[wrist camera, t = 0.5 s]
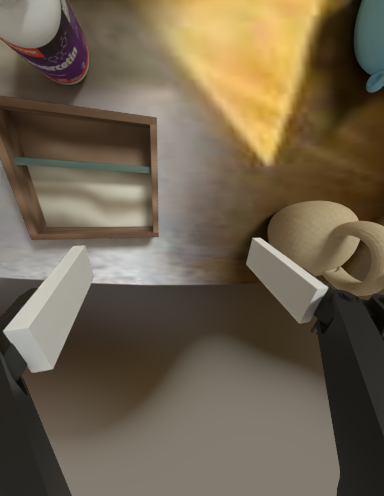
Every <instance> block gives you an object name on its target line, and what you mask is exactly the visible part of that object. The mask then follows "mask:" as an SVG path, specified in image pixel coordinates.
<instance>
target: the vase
mask: <svg viewBox="0 0 384 496" xmlns="http://www.w3.org/2000/svg"><path fill="white" fill-rule="evenodd" d="M360 239H361V240H362V241H363V242H365V243H366V245H367V246H368V248H369V249H370V252H371V256H372V265H371V268H370V271H369V273H368V275H367V277H366V278H365V280H364V281H363V282H361V281H358V280H356V279H354V278H353V277H351V276H350V275H349V274H348V273H346V272H345V271H344V270H343V269H342V268H341V267H340V266H341V265H342V264H343V263H345V262H346V261H347V260H348V259H349V258H350V257H351V255H352V254H353V253H354V251H355V250H356V248H357V246H358V243H359V241H360ZM268 240H269V244H270V245H271V246H272V247H274V248H275V249H276V250H278V251H279V252H281V253H282V254H283V255H285V256H286V257H287V258H289V259H290V260H291V261H293V262H294V263H296V264H297V265H299V266H301V267H303V268H304V269H306V270H307V271H309V272H310V273H311V274H313V275H314V276H318V275H323V276H324V277H325V278H326V279H327V280H328V281H329V282H330V283H331V284H332V285H333V286H334V287H336V288H337V289H338V290H344V291H347V292H350V293H352V294H354V295H356V296H366V295H371V294H374V293H377V292H378V291H380V290H382V289H383V288H384V226H381V225H379V224H376V223H372V222H366V221H359V220H358V218H357V217H356V215H355V214H354V213H353V212H352V211H351V210H350V209H348V208H347V207H345V206H343V205H341V204H338V203H334V202H329V201H308V202H302V203H297V204H293V205H290V206H287V207H285V208H283V209H281V210H280V211H278V212H277V213H276V214H275V215H274V216H273V217H272V219H271V220H270V223H269V225H268Z"/></svg>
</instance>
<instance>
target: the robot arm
mask: <svg viewBox="0 0 384 496" xmlns="http://www.w3.org/2000/svg"><path fill="white" fill-rule="evenodd" d="M246 265H247V266H248V267H249V268H250V269H251V271H252V272H253V273H254V274H255V275H256V276H257V277H258V278H259V279H260V281H261V282H262V283H263V284H264V285H265V286H266V287H267V288H268V289H269V290H270V292H271V293H272V294H273V295H274V296H275V297H276V298H277V299H278V300H279V302H280V303H281V304H282V305H283V306H284V307H285V308H286V309H287V310H288V312H289V313H290V314H291V315H292V316H293V317H294V318H295V319H296V320H297V322H298V323H299V324H300V323H305V322H310V320H311V318H312V316H313V315H315V316H316V317H317V318H318V319H317V321H316V322H315V324H314V326H313V328H312V329H311V332H312V333H313V332H314V330H315V329H317V333H316V334H317V335H318V340H319V346H320V352H321V358H322V364H323V369H324V376H325V382H326V388H327V394H328V400H329V406H330V412H331V418H332V424H333V429H334V436H335V442H336V448H337V454H338V460H339V466H340V479H339V483H338V487H337V496H384V295H381V294H374V295H372V296H371V298H370V299H369V300H362V299H360V298H359V297H357V296H356V295H354V294H352V293H350V292H347V291H344V290H333V289H332V288H331V287H329V286H328V285H327V284H325V283H324V282H322V281H321V280H320V279H318V278H317V277H315V276H314V275H313V274H311V273H310V272H309V271H307V270H306V269H304V268H303V267H301V266H299V265H297V264H296V263H294V262H293V261H291V260H290V259H289V258H287V257H286V256H285V255H283V254H282V253H281V252H279V251H278V250H276V249H275V248H274V247H272V246H271V245H270V244H268V243H267V242H265V241H264V240H263V239H261V238H252V242H251V246H250V250H249V254H248V258H247V262H246ZM93 278H94V276H93V272H92V268H91V265H90V261H89V257H88V253H87V249H86V246H73V247H72V248H71V249H70V250H69V252H68V253H67V254H66V255H65V257H64V258H63V259H62V260H61V261H60V263H59V264H58V265H57V266H56V267H55V269H54V270H53V271H52V272H51V274H50V275H49V276H48V277H47V278H46V280H45V281H44V282H43V283H42V284H41V286H40V287H39V288H33V289H30V290H28V291H27V292H25V293H24V294H22V295H21V296H19V298H18V299H17V300H16V301H15V302H14V303H13V304H12V306H10V307H9V308H8V310H7V311H6V313H4V314H3V315H2V316H1V317H0V496H72V495H71V493H70V490H69V488H68V486H67V483H66V481H65V478H64V476H63V473H62V471H61V468H60V466H59V464H58V461H57V459H56V456H55V454H54V451H53V449H52V447H51V444H50V442H49V439H48V437H47V434H46V432H45V430H44V427H43V425H42V422H41V420H40V417H39V415H38V413H37V410H36V408H35V405H34V403H33V401H32V398H31V396H30V393H29V391H28V388H27V386H26V384H25V381H24V379H23V378H22V377H21V375H22V373H23V372H24V370H25V368H26V366H28V368H29V369H30V371H31V372H32V373H35V372H40V371H46V370H51V369H53V368H54V365H55V363H56V361H57V359H58V356H59V354H60V352H61V350H62V347H63V345H64V343H65V340H66V338H67V336H68V334H69V332H70V329H71V327H72V325H73V323H74V320H75V318H76V316H77V313H78V311H79V309H80V307H81V305H82V302H83V300H84V298H85V296H86V293H87V291H88V289H89V287H90V284H91V282H92V280H93Z"/></svg>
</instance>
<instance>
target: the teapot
mask: <svg viewBox="0 0 384 496" xmlns="http://www.w3.org/2000/svg"><path fill="white" fill-rule="evenodd" d="M354 51H355V55H356V59H357V61H358V63H359V65H360V66H361V67H362V68H363V69H364V70H365V71H366V72H367V73H368V74H370V75H371V77H370V78H369V79H368V81H367V84H366V89H367V91H368V92H376V91H378V90H379V89H381V88H382V87H383V86H384V0H362V1H361V4H360V7H359V11H358V14H357V18H356V23H355V30H354Z"/></svg>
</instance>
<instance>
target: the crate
mask: <svg viewBox="0 0 384 496" xmlns="http://www.w3.org/2000/svg"><path fill="white" fill-rule="evenodd" d="M0 159H1V162H2V164H3V167H4V169H5V172H6V174H7V177H8V180H9V182H10V185H11V187H12V190H13V193H14V195H15V198H16V200H17V203H18V206H19V208H20V211H21V213H22V216H23V219H24V221H25V224H26V226H27V229H28V231H29V234H30V237H31V239H32V240H46V239H92V238H138V237H159V235H158V173H157V118H156V117H149V116H142V115H135V114H128V113H121V112H113V111H106V110H99V109H92V108H85V107H78V106H71V105H63V104H56V103H49V102H42V101H35V100H28V99H21V98H13V97H6V96H0Z"/></svg>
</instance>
